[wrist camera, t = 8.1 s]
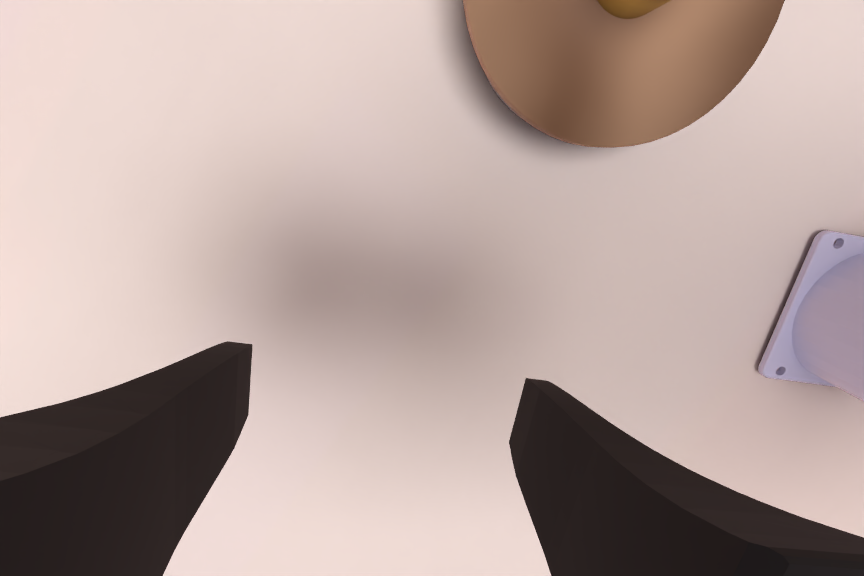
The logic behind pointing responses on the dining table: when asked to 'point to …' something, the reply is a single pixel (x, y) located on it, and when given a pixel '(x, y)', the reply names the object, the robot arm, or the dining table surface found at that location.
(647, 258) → the dining table surface
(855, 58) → the dining table surface
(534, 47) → the lid
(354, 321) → the dining table surface
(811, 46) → the dining table surface
